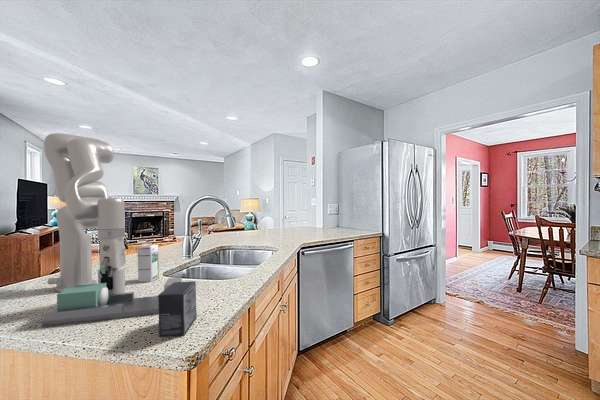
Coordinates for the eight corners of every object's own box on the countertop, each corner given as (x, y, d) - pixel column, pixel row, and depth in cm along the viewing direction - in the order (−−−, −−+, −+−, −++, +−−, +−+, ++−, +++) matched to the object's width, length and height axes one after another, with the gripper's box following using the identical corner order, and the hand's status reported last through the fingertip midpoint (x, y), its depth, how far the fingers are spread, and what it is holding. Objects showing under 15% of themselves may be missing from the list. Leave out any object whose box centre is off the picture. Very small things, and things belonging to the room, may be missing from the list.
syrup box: (151, 281, 113) (151, 246, 113) (137, 281, 113) (137, 246, 113) (159, 277, 119) (158, 244, 119) (145, 278, 119) (145, 244, 119)
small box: (173, 318, 78) (172, 281, 78) (197, 317, 78) (196, 280, 78) (157, 337, 67) (156, 294, 67) (184, 336, 68) (184, 292, 68)
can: (96, 305, 88) (95, 267, 88) (100, 297, 95) (100, 262, 95) (124, 301, 92) (123, 264, 92) (126, 294, 98) (125, 260, 98)
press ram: (57, 315, 76) (57, 294, 76) (71, 305, 83) (71, 285, 83) (100, 311, 78) (99, 290, 78) (110, 301, 86) (110, 282, 86)
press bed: (41, 327, 73) (41, 298, 73) (65, 310, 84) (64, 285, 84) (177, 311, 83) (177, 286, 83) (182, 297, 94) (182, 275, 94)
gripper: (115, 236, 86) (116, 291, 86) (131, 231, 103) (132, 277, 102) (87, 237, 84) (88, 294, 84) (108, 232, 100) (109, 280, 100)
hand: (112, 285), depth 93 cm, fingers open, 9 cm apart
